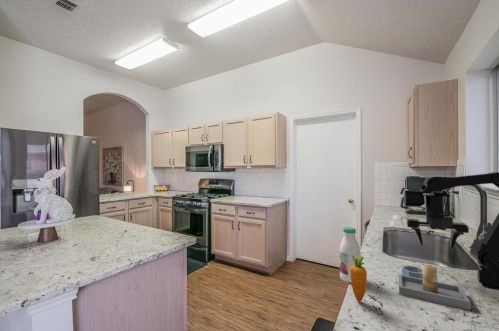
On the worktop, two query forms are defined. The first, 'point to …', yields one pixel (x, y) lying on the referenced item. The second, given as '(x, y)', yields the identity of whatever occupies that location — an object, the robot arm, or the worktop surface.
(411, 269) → the blue-grey socket block
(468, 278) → the worktop surface
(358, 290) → the carrot
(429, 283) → the wooden pin
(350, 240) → the milk bottle
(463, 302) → the tray
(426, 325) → the worktop surface
